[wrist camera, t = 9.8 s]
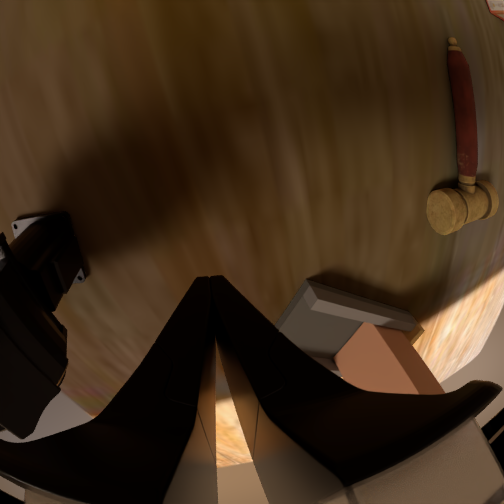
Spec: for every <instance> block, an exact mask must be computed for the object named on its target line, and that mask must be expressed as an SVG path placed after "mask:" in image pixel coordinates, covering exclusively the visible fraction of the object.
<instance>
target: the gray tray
mask: <svg viewBox="0 0 504 504" xmlns="http://www.w3.org/2000/svg"><path fill="white" fill-rule="evenodd" d="M364 322H366V323H371V324H375V325H380V326H385V327H390V328H395V329H399V330H401V331H402V332H403V334H404V335H405V336H406V338H407V339H408V340H409V342H410V343H411V344H412V345H413V344H414V343H415V342H416V340H417V339H418V338H419V337H420V336H421V335H422V333H423V332H424V331H425V330H424V329H423V328H422V327H421V326H420V324H419V323H418V322H417V321H416V319H415V318H414V317H413V316H412V315H411V314H410V312H409V311H405V310H402V309H399V308H396V307H392V306H389V305H386V304H383V303H380V302H376V301H373V300H370V299H367V298H364V297H361V296H357V295H354V294H351V293H348V292H345V291H342V290H339V289H335V288H332V287H329V286H326V285H323V284H320V283H317V282H313V281H310V280H307V279H306V280H305V281H304V283H303V284H302V286H301V287H300V289H299V290H298V292H297V293H296V295H295V296H294V298H293V299H292V301H291V302H290V304H289V305H288V307H287V308H286V310H285V311H284V313H283V314H282V316H281V317H280V319H279V320H278V321H277V323H276V324H275V327H276V328H277V329H279V331H280V332H282V333H283V334H284V335H285V336H286V337H287V338H288V339H289V340H291V341H292V342H293V343H294V344H295V345H296V346H297V347H299V348H300V349H301V350H302V351H304V352H305V353H306V354H308V355H309V356H310V357H312V358H313V359H314V360H316V361H317V362H319V363H320V364H322V365H323V366H325V367H326V368H327V369H329V370H330V371H332V372H333V373H335V374H336V375H338V376H339V377H342V375H341V373H340V371H339V369H338V367H337V365H336V363H335V361H334V359H333V357H334V356H335V355H336V354H337V353H338V352H339V351H340V350H341V349H342V347H343V346H344V345H345V344H346V343H347V342H348V341H349V339H350V338H351V337H352V336H353V335H354V333H355V332H356V331H357V330H358V329H359V327H360V326H361V325H362V324H363V323H364Z"/></svg>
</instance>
